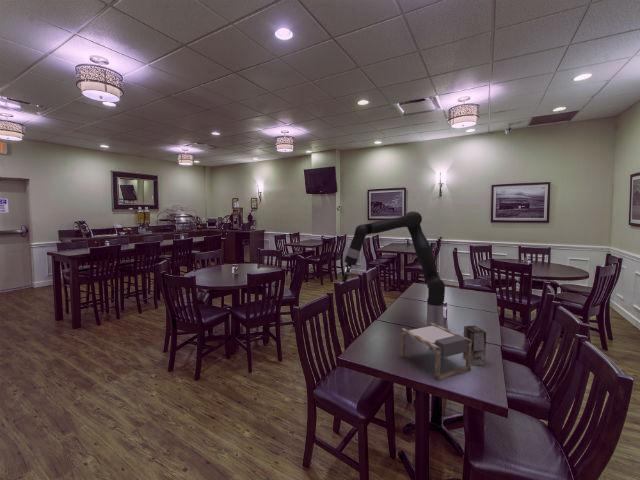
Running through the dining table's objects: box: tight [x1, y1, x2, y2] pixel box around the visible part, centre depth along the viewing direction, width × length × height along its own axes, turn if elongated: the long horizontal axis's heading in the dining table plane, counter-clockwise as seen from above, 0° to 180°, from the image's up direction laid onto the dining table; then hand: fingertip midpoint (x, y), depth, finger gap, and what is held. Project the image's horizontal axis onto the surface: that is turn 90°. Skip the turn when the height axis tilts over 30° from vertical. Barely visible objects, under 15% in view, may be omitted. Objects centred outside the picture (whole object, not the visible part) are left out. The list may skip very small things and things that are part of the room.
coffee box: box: [462, 325, 487, 366], centre depth 148 cm, size 9×6×16 cm
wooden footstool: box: [400, 323, 472, 381], centre depth 146 cm, size 24×20×14 cm
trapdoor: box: [408, 326, 467, 359], centre depth 144 cm, size 22×16×6 cm
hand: (344, 280), depth 189 cm, fingers open, 8 cm apart
